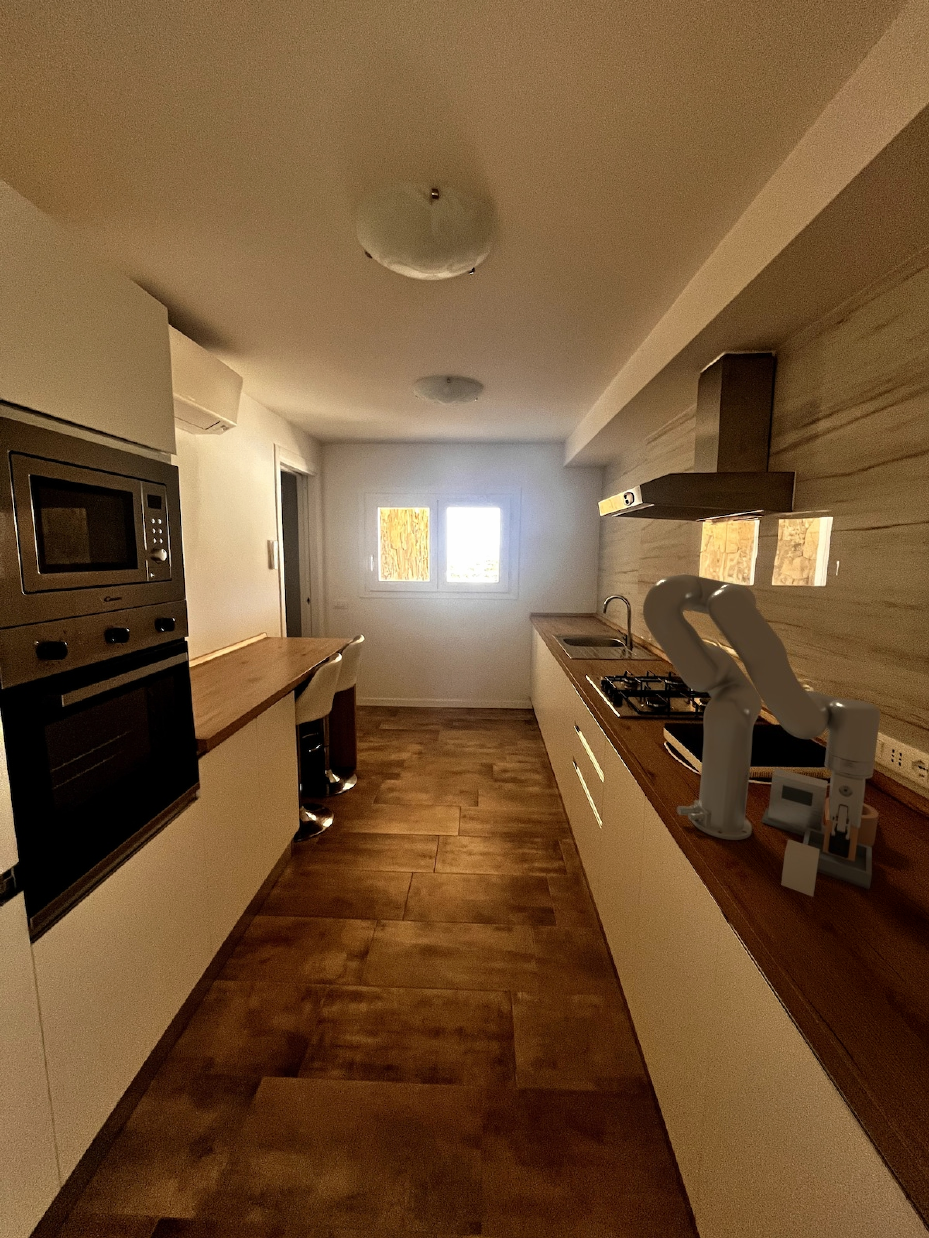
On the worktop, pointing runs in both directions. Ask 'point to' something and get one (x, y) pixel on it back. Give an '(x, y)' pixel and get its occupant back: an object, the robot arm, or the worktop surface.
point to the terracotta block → (852, 837)
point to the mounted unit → (796, 802)
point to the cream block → (800, 867)
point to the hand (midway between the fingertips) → (838, 846)
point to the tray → (842, 861)
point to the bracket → (864, 824)
